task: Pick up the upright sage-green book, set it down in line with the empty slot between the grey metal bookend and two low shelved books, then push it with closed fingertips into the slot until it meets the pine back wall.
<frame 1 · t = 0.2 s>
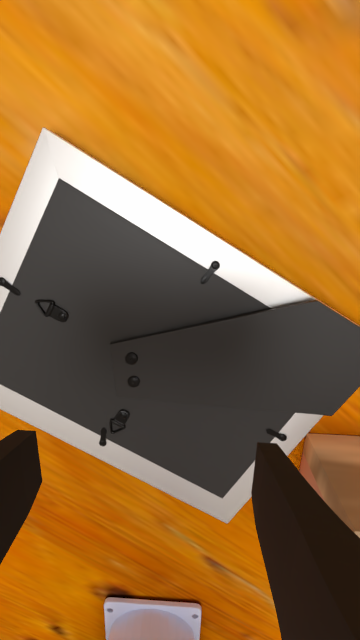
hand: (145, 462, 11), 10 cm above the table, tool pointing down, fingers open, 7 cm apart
shelved books: (332, 489, 23), on the table
picture frame: (156, 347, 21), on the table
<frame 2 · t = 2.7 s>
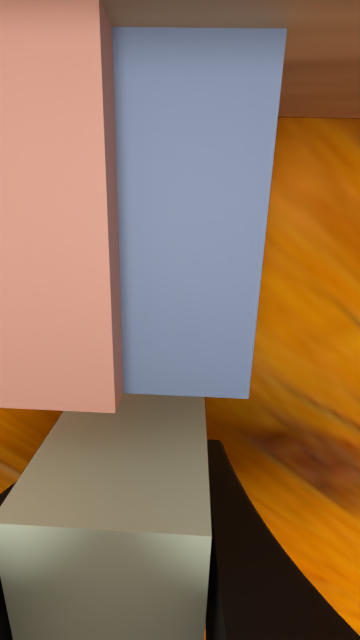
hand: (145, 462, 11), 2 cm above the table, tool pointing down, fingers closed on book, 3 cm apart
shelved books: (151, 228, 10), on the table
shelf wall: (283, 84, 9), on the table
book: (151, 430, 12), on the table, touching gripper
when the fingers open (2 cm above the table, at t = 5.4 s): book stays where it is, on the table.
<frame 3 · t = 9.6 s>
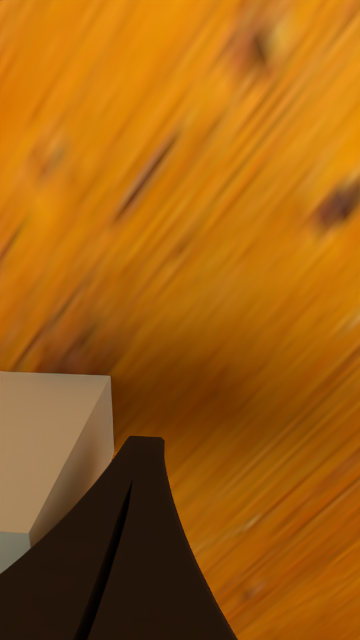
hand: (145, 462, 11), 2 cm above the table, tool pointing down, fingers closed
book: (38, 411, 13), on the table, touching gripper
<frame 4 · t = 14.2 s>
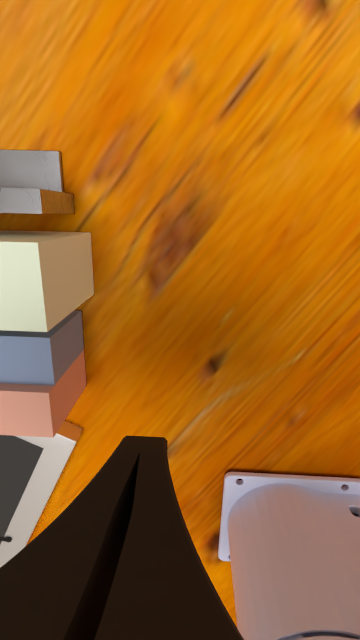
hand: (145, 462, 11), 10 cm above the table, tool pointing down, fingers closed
shelved books: (36, 347, 21), on the table
book: (40, 262, 19), on the table
bookend: (19, 202, 18), on the table
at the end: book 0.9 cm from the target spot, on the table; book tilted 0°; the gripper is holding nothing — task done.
